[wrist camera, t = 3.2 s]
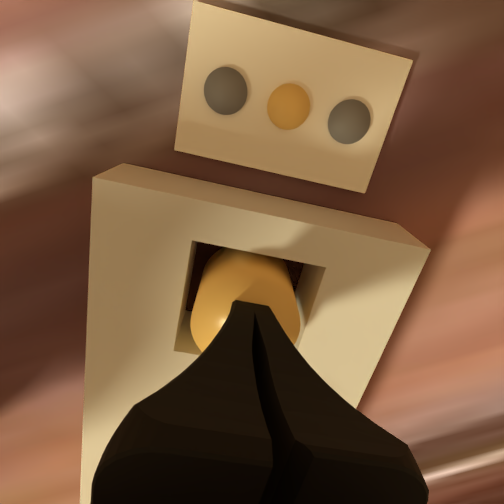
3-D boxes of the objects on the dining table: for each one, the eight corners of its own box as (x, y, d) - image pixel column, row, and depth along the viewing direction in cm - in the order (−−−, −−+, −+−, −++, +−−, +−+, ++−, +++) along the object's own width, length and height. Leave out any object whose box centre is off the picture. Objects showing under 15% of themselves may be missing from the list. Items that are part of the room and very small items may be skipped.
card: (175, 149, 14) (173, 150, 13) (194, 2, 12) (193, -1, 11) (362, 191, 14) (365, 194, 14) (409, 61, 12) (415, 59, 12)
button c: (195, 311, 16) (183, 359, 13) (209, 233, 14) (200, 267, 11) (277, 326, 16) (284, 376, 13) (300, 252, 15) (314, 290, 12)
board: (97, 513, 23) (77, 569, 20) (123, 162, 14) (92, 177, 11) (268, 534, 24) (271, 588, 21) (397, 223, 15) (431, 249, 12)
